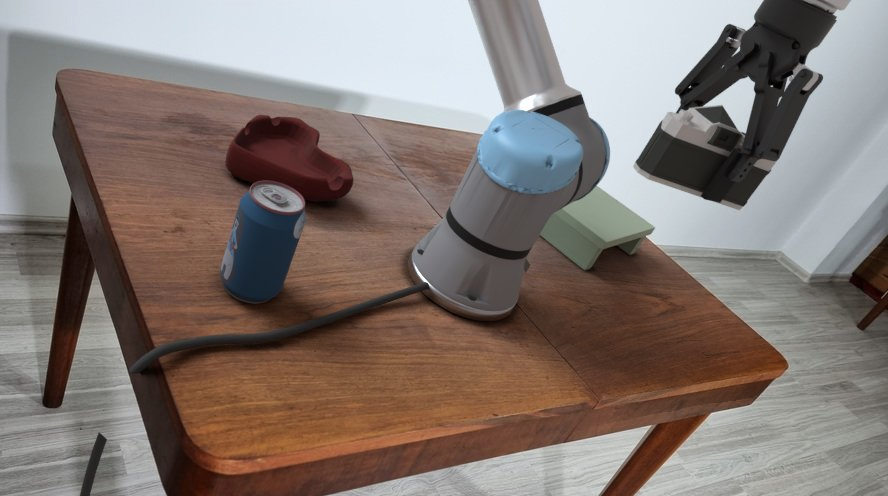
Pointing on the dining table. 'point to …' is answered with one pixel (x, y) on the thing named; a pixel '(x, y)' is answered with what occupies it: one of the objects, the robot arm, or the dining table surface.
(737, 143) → the camera
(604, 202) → the shelf
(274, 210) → the soda can
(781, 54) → the robot arm
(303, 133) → the ashtray
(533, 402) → the dining table surface
